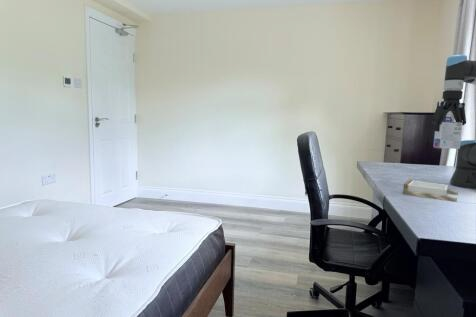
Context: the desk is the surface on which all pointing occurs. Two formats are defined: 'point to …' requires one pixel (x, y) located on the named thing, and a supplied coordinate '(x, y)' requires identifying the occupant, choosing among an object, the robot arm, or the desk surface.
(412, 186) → the caddy
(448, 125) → the ink cartridge box
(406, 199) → the desk surface
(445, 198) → the backstop
